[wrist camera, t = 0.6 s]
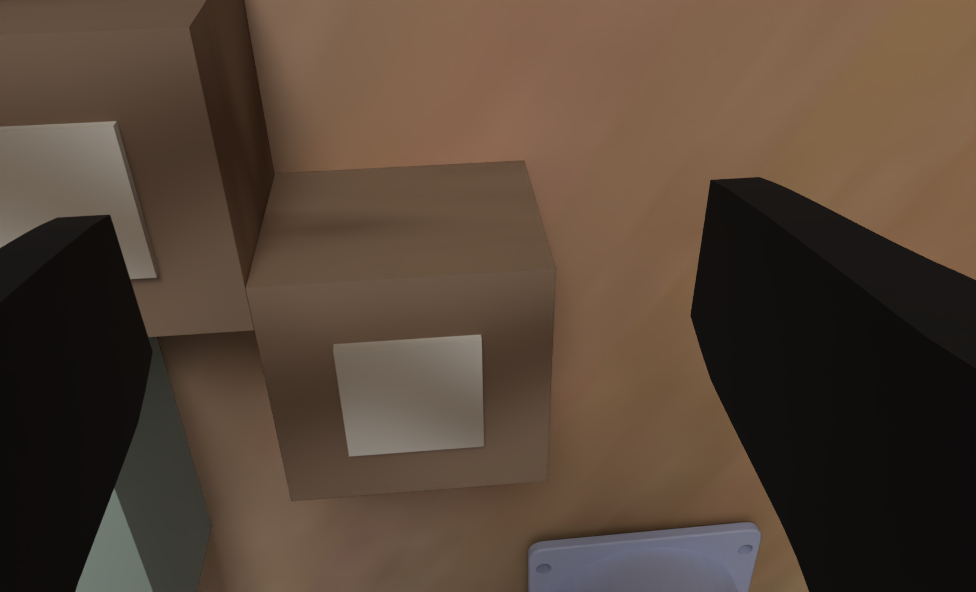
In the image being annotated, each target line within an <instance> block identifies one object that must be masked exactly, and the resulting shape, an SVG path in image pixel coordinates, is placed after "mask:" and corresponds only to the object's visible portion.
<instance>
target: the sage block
mask: <svg viewBox="0 0 976 592" xmlns="http://www.w3.org/2000/svg"><path fill="white" fill-rule="evenodd" d="M148 338H149V341H150V345H151V348H152V351H153V354H152V359H151V364H150V370H149V375H148V380H147V386H146V391H145V395H144V400H143V404H142V409H141V413H140V417H139V422H138V425H137V428H136V430H135V433H134V436H133V439H132V442H131V444H130V447H129V450H128V452H127V455H126V458H125V461H124V463H123V466H122V469H121V471H120V474H119V477H118V480H117V482H116V485H115V487H114V490H113V493H112V495H111V498H110V501H109V503H108V506H107V508H106V511H105V514H104V516H103V519H102V522H101V524H100V527H99V529H98V532H97V535H96V537H95V540H94V543H93V545H92V548H91V551H90V553H89V556H88V558H87V561H86V564H85V566H84V569H83V572H82V574H81V577H80V579H79V582H78V585H77V588H76V591H75V592H197V589H198V584H199V580H200V575H201V571H202V566H203V562H204V557H205V553H206V548H207V544H208V539H209V535H210V530H211V522H210V519H209V515H208V512H207V509H206V505H205V502H204V498H203V495H202V491H201V488H200V484H199V481H198V478H197V474H196V471H195V467H194V464H193V460H192V457H191V454H190V450H189V447H188V443H187V440H186V436H185V433H184V429H183V426H182V423H181V419H180V416H179V412H178V409H177V405H176V402H175V399H174V395H173V392H172V388H171V385H170V381H169V378H168V374H167V371H166V368H165V364H164V361H163V357H162V354H161V350H160V347H159V344H158V340H157V337H148Z"/></svg>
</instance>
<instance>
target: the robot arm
mask: <svg viewBox="0 0 976 592" xmlns="http://www.w3.org/2000/svg"><path fill="white" fill-rule="evenodd" d="M691 319H692V322H693V325H694V329H695V332H696V335H697V339H698V342H699V345H700V349H701V352H702V355H703V358H704V361H705V364H706V367H707V370H708V373H709V375H710V378H711V381H712V383H713V385H714V387H715V390H716V392H717V394H718V396H719V398H720V400H721V402H722V404H723V406H724V408H725V410H726V412H727V414H728V416H729V418H730V421H731V423H732V425H733V427H734V429H735V431H736V433H737V435H738V437H739V439H740V441H741V443H742V445H743V447H744V449H745V451H746V453H747V455H748V457H749V459H750V461H751V463H752V465H753V467H754V469H755V471H756V473H757V475H758V477H759V479H760V481H761V483H762V485H763V487H764V489H765V491H766V493H767V495H768V497H769V499H770V501H771V503H772V505H773V507H774V509H775V511H776V513H777V515H778V517H779V519H780V521H781V523H782V525H783V527H784V530H785V532H786V534H787V536H788V539H789V541H790V543H791V546H792V548H793V550H794V552H795V555H796V557H797V560H798V562H799V565H800V568H801V570H802V573H803V576H804V579H805V581H806V584H807V587H808V590H809V592H976V280H974V279H972V278H970V277H967V276H965V275H963V274H961V273H958V272H956V271H954V270H952V269H949V268H947V267H945V266H943V265H940V264H938V263H936V262H934V261H932V260H929V259H927V258H925V257H923V256H921V255H919V254H917V253H915V252H913V251H911V250H909V249H907V248H904V247H902V246H900V245H898V244H896V243H894V242H892V241H890V240H888V239H886V238H884V237H882V236H880V235H878V234H876V233H874V232H872V231H870V230H869V229H867V228H865V227H863V226H861V225H859V224H857V223H855V222H853V221H851V220H849V219H847V218H845V217H843V216H841V215H839V214H837V213H835V212H834V211H832V210H830V209H828V208H826V207H824V206H822V205H820V204H818V203H816V202H814V201H812V200H810V199H808V198H806V197H804V196H802V195H800V194H798V193H796V192H794V191H792V190H790V189H788V188H785V187H783V186H781V185H779V184H776V183H774V182H771V181H769V180H766V179H763V178H760V177H755V178H737V179H720V180H711V181H710V188H709V194H708V201H707V208H706V215H705V221H704V228H703V235H702V242H701V248H700V255H699V262H698V269H697V275H696V282H695V289H694V296H693V302H692V309H691ZM152 354H153V351H152V348H151V345H150V341H149V338H148V335H147V332H146V328H145V325H144V322H143V319H142V316H141V312H140V309H139V306H138V303H137V299H136V296H135V293H134V290H133V286H132V283H131V280H130V277H129V274H128V270H127V267H126V264H125V261H124V257H123V254H122V251H121V248H120V244H119V241H118V238H117V235H116V232H115V228H114V225H113V222H112V219H111V215H92V216H75V217H57V218H55V219H53V220H50V221H48V222H46V223H44V224H42V225H40V226H38V227H36V228H34V229H32V230H30V231H28V232H27V233H25V234H23V235H21V236H20V237H18V238H16V239H14V240H13V241H11V242H9V243H8V244H6V245H4V246H3V247H1V248H0V592H75V591H76V588H77V585H78V582H79V579H80V577H81V574H82V572H83V569H84V566H85V564H86V561H87V558H88V556H89V553H90V551H91V548H92V545H93V543H94V540H95V537H96V535H97V532H98V529H99V527H100V524H101V522H102V519H103V516H104V514H105V511H106V508H107V506H108V503H109V501H110V498H111V495H112V493H113V490H114V487H115V485H116V482H117V480H118V477H119V474H120V471H121V469H122V466H123V463H124V461H125V458H126V455H127V452H128V450H129V447H130V444H131V442H132V439H133V436H134V433H135V430H136V428H137V425H138V422H139V417H140V413H141V409H142V404H143V400H144V395H145V391H146V386H147V380H148V375H149V370H150V364H151V359H152ZM760 541H761V533H760V531H759V528H758V527H757V525H756V524H754V523H751V522H741V523H730V524H720V525H709V526H698V527H688V528H677V529H666V530H656V531H645V532H634V533H624V534H613V535H602V536H592V537H581V538H570V539H560V540H549V541H541V542H537V543H535V544H533V545H532V546H531V547H530V548H529V549H528V592H748V591H749V587H750V582H751V578H752V574H753V570H754V566H755V562H756V557H757V553H758V549H759V545H760Z"/></svg>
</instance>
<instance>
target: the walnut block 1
mask: <svg viewBox="0 0 976 592" xmlns="http://www.w3.org/2000/svg"><path fill="white" fill-rule="evenodd" d="M273 179H274V169H273V164H272V158H271V152H270V147H269V141H268V135H267V129H266V124H265V118H264V112H263V107H262V101H261V95H260V89H259V84H258V78H257V72H256V66H255V61H254V55H253V49H252V44H251V38H250V32H249V26H248V21H247V15H246V9H245V3H244V0H0V248H1V247H3V246H4V245H6V244H8V243H9V242H11V241H13V240H14V239H16V238H18V237H20V236H21V235H23V234H25V233H27V232H28V231H30V230H32V229H34V228H36V227H38V226H40V225H42V224H44V223H46V222H48V221H50V220H53V219H55V218H57V217H75V216H92V215H111V219H112V222H113V225H114V228H115V232H116V235H117V238H118V241H119V244H120V248H121V251H122V254H123V257H124V261H125V264H126V267H127V270H128V274H129V277H130V280H131V283H132V286H133V290H134V293H135V296H136V299H137V303H138V306H139V309H140V312H141V316H142V319H143V322H144V325H145V328H146V332H147V335H148V337H159V336H175V335H190V334H206V333H221V332H236V331H252V330H254V325H253V320H252V316H251V311H250V306H249V302H248V297H247V292H246V284H247V280H248V276H249V272H250V268H251V265H252V261H253V257H254V253H255V249H256V245H257V241H258V237H259V233H260V229H261V226H262V222H263V218H264V214H265V210H266V206H267V202H268V198H269V194H270V190H271V187H272V183H273Z"/></svg>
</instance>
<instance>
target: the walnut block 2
mask: <svg viewBox="0 0 976 592" xmlns="http://www.w3.org/2000/svg"><path fill="white" fill-rule="evenodd" d="M555 272H556V268H555V265H554V262H553V258H552V255H551V251H550V248H549V244H548V241H547V237H546V234H545V231H544V227H543V224H542V220H541V217H540V213H539V210H538V206H537V203H536V200H535V196H534V193H533V189H532V186H531V182H530V179H529V175H528V172H527V169H526V165H525V162H524V161H505V162H485V163H466V164H447V165H428V166H409V167H390V168H370V169H351V170H332V171H313V172H294V173H275V175H274V179H273V183H272V187H271V190H270V194H269V198H268V202H267V206H266V210H265V214H264V218H263V222H262V226H261V229H260V233H259V237H258V241H257V245H256V249H255V253H254V257H253V261H252V265H251V268H250V272H249V276H248V280H247V284H246V292H247V297H248V302H249V306H250V311H251V316H252V320H253V325H254V330H255V334H256V339H257V344H258V348H259V353H260V358H261V362H262V367H263V372H264V376H265V381H266V386H267V390H268V395H269V400H270V404H271V409H272V414H273V418H274V423H275V428H276V432H277V437H278V441H279V446H280V451H281V455H282V460H283V465H284V469H285V474H286V479H287V483H288V488H289V493H290V497H291V501H300V500H313V499H326V498H338V497H351V496H364V495H377V494H389V493H402V492H415V491H427V490H440V489H453V488H466V487H478V486H491V485H504V484H517V483H529V482H542V481H547V475H548V449H549V424H550V398H551V373H552V348H553V322H554V297H555Z"/></svg>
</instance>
